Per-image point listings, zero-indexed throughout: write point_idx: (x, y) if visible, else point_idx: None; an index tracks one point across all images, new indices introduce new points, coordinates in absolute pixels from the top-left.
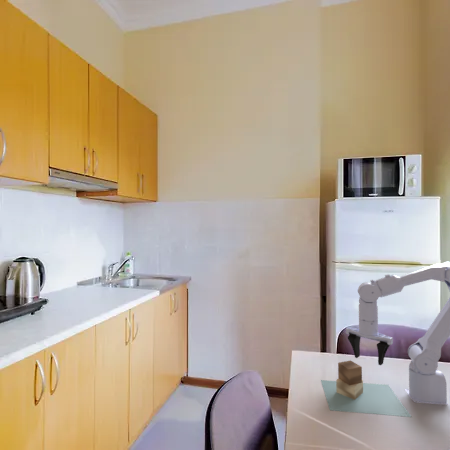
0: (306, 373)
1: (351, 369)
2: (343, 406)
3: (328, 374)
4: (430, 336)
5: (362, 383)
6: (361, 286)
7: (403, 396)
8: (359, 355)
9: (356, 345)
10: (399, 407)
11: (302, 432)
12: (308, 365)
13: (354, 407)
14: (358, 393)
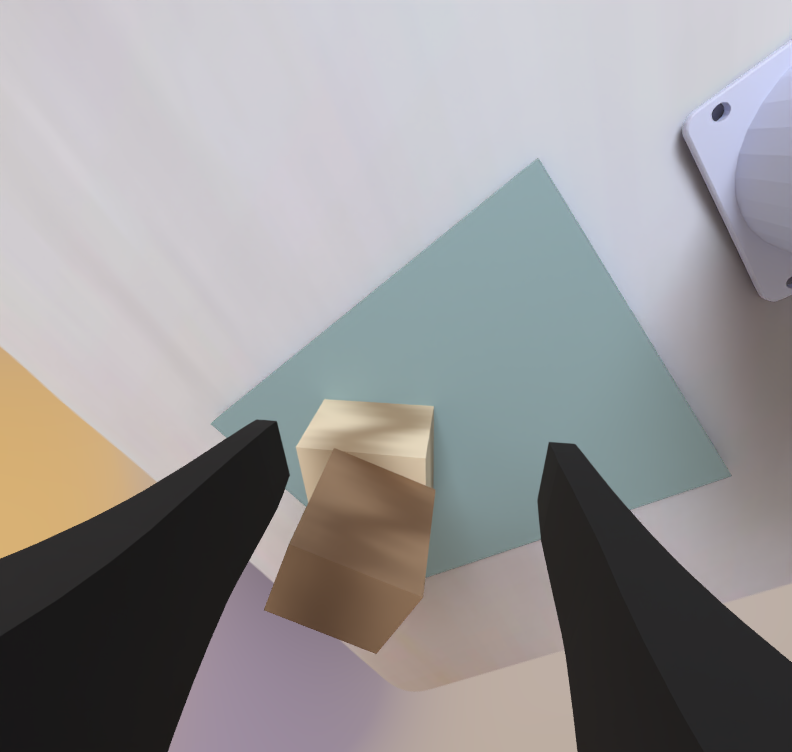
0: (109, 386)
1: (385, 640)
2: None
3: (165, 311)
4: None
5: (427, 450)
6: None
7: (674, 240)
8: (271, 425)
9: (198, 612)
10: (659, 429)
11: (399, 664)
12: (15, 287)
13: (460, 537)
14: (431, 467)
